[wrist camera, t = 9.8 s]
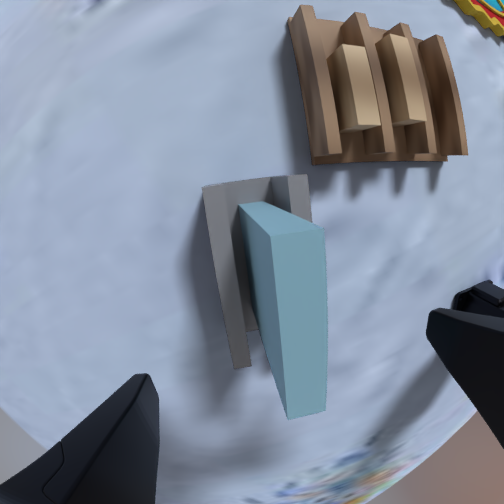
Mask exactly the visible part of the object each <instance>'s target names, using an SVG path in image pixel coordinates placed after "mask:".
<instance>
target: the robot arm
mask: <svg viewBox="0 0 504 504" xmlns="http://www.w3.org/2000/svg"><path fill="white" fill-rule="evenodd" d="M426 336H427V339H428V340H429V342H430V343H431V345H432V346H433V348H434V350H435V351H436V353H437V354H438V356H439V357H440V359H441V361H442V362H443V364H444V365H445V367H446V368H447V370H448V371H449V372H450V374H451V375H452V376H453V378H454V379H455V380H456V382H457V383H458V384H459V386H460V387H461V388H462V390H463V391H464V392H465V394H466V395H467V396H468V398H469V399H470V400H471V402H472V403H473V405H474V406H475V407H476V409H477V410H478V412H479V413H480V414H481V416H482V417H483V419H484V420H485V422H486V423H487V425H488V426H489V428H490V429H491V430H492V432H493V433H494V435H495V437H496V438H497V440H498V441H499V443H500V444H501V446H502V447H503V449H504V289H502V288H500V287H498V286H496V285H493V282H492V281H491V280H487V281H484V282H481V283H479V284H477V285H474V286H473V287H471V288H468V289H466V290H463V291H461V292H459V293H458V294H457V295H456V298H455V304H454V310H450V309H445V308H437V309H435V310H432V311H431V312H430V313H429V316H428V323H427V329H426ZM159 444H160V436H159V397H158V393H157V391H156V389H155V386H154V384H153V382H152V379H151V377H150V375H149V374H147V373H143V374H135V375H133V376H132V377H131V378H130V379H129V380H128V381H127V382H126V383H124V384H123V385H122V386H121V387H120V388H119V389H118V390H117V391H116V392H114V393H113V394H112V395H111V396H110V397H109V398H108V399H107V400H105V401H104V402H103V403H102V404H101V405H100V406H99V407H98V408H96V409H95V410H94V411H93V412H92V413H91V414H90V415H89V416H87V417H86V418H85V419H84V420H83V421H82V422H81V423H79V424H78V425H77V426H76V427H75V428H74V429H73V430H71V431H70V432H69V433H68V434H67V435H66V436H65V437H63V438H62V439H61V441H59V442H58V443H56V444H55V445H54V446H53V447H52V448H51V449H50V450H48V451H47V452H46V453H45V454H43V455H42V456H41V457H40V458H38V459H37V460H36V461H34V462H33V463H32V464H30V465H29V466H27V467H26V468H25V469H23V470H22V471H20V472H19V473H17V474H16V475H14V476H13V477H11V478H10V479H8V480H7V481H5V482H4V483H2V484H1V485H0V504H155V495H156V480H157V467H158V456H159Z"/></svg>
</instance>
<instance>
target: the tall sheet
mask: <svg viewBox="0 0 504 504" xmlns="http://www.w3.org/2000/svg"><path fill="white" fill-rule="evenodd" d="M238 206H239V214H240V222H241V229H242V236H243V244H244V251H245V259H246V266H247V273H248V281H249V288H250V295H251V302H252V309H253V313H254V316H255V319H256V323H257V326H258V329H259V332H260V335H261V339H262V342H263V345H264V348H265V351H266V354H267V358H268V361H269V364H270V367H271V370H272V373H273V376H274V379H275V383H276V386H277V389H278V392H279V395H280V398H281V401H282V404H283V407H284V410H285V413H286V416H287V419H288V420H291V419H295V418H299V417H303V416H307V415H311V414H315V413H319V412H323V411H326V393H327V358H328V311H327V276H326V254H325V237H324V228H322V227H320V226H318V225H316V224H313V223H311V222H309V221H307V220H305V219H302V218H300V217H298V216H296V215H293V214H291V213H289V212H287V211H284V210H282V209H280V208H278V207H275V206H273V205H271V204H268V203H266V202H264V201H260V202H253V203H245V204H238Z"/></svg>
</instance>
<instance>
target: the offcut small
mask: <svg viewBox="0 0 504 504" xmlns="http://www.w3.org/2000/svg"><path fill="white" fill-rule="evenodd" d="M326 61H327V66H328V70H329V75H330V80H331V86H332V91H333V96H334V102H335V108H336V114H337V121H338V127H339V133H354V132H358V131H361V130H365V129H369V128H372V127H376V126H380V125H381V122H380V116H379V110H378V104H377V99H376V94H375V89H374V84H373V79H372V75H371V70H370V66H369V62H368V58H367V54H366V50H365V47H361V46H354V45H346V44H342V45H341V46H339V47H338V48H337V49H336V50H335V51H334V52H333V53H332V54H331V55H330V56H329V57H328V58H327V59H326Z"/></svg>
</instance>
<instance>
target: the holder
mask: <svg viewBox="0 0 504 504" xmlns="http://www.w3.org/2000/svg"><path fill="white" fill-rule="evenodd" d="M202 192H203V198H204V205H205V212H206V218H207V224H208V231H209V237H210V243H211V249H212V255H213V261H214V267H215V272H216V278H217V283H218V289H219V294H220V300H221V305H222V310H223V316H224V321H225V326H226V331H227V336H228V341H229V346H230V351H231V356H232V360H233V365H234V369H238V368H244V367H250V366H252V365H251V359H250V353H249V347H248V341H247V335H246V332H248V331H254V330H259V329H258V326H257V323H256V319H255V316H254V313H253V309H252V302H251V295H250V288H249V281H248V273H247V266H246V259H245V251H244V244H243V236H242V229H241V222H240V214H239V206H238V204H245V203H253V202H260V201H264V202H266V203H268V204H271V205H273V206H275V207H278V208H280V209H282V210H284V211H287V212H289V213H291V214H293V215H296V216H298V217H300V218H302V219H305V220H307V221H309V222H311V223H312V214H311V204H310V194H309V185H308V176H307V174H300V175H283V176H274V177H265V178H257V179H249V180H242V181H235V182H228V183H221V184H214V185H208V186H204V187H202Z"/></svg>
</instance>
